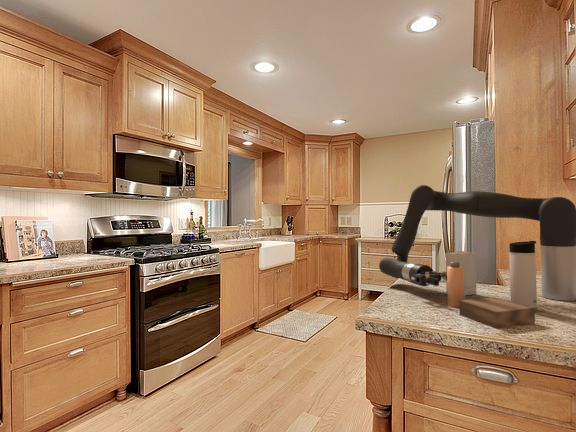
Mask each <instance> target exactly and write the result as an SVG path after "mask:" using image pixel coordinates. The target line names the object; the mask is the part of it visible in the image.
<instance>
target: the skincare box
mask: <svg viewBox="0 0 576 432" xmlns="http://www.w3.org/2000/svg"><path fill="white" fill-rule="evenodd" d="M450 262H460V267H463V268H464V297H465V296H466V297H467V296H470V295H471V296H472V295H476V294H477V272H476V271H477V270H476V268H477V267H476V266H477V265H476V262H477V261H476V252H472V251H463V250H461V251H454V252H445V272H447V266H450ZM445 284H446V285H447V282H446V283H445ZM446 293H447V294H448V290H447V289H446Z"/></svg>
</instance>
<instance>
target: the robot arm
mask: <svg viewBox="0 0 576 432" xmlns="http://www.w3.org/2000/svg"><path fill="white" fill-rule="evenodd" d="M426 211H441V212H442V211H444V212H445V211H446V212H451V213H453V212H454V213H457V214H463V215H470V216H475V217H485V218H498V219H499V218H502V219H504V218H507V219H513V218H517V219H528V220H533V221H538V222H539V244H540V245H539V249H540V252H539V253H540V277H541V278H540V279H541V280H540V281H541V297H543V298H546V299H551V300H557V301H567V302H569V301H570V302H571V301H572V302H573V301H576V204H574V202H573V201H572V200H570V199H568V198H566V197H562V196H555V197H554V196H553V197H549V198H548V197H546V198H545V197H544V198H538V197H537V198H534V197H520V196H515V195H512V194H511V195H510V194H505V193H501V192H492V191H482V190H481V191H480V190H478V191H475V190H474V191H462V192H455V193H453V192H444V191H438V190H434V189H433V188H432V187H430V186H429V185H426V184H422V185H417V186H416V187H415V188H414V189H413V190H412V191H411V194H410V198H409V201H408V206H407V209H406V212H405V216H404V219H403V221H402V224H401V226H400V228H399V231H398V233H397V235H396V237H395V239H394V242H393V244H392V246H391V251H392V253H394V254H396V257H397V259H396V258H394V257H393V258H392V257H390V256H387V257H384V258H382V259H381V260H380V262H379V264H378V268H379V270H380V272H381V273H382V274H383V275H387V276H389V277H391V278H395V279H400V280H403V281H407V282H409V283H411V284H415V285H417V286H421V287H428V286H429V285H431V286H433V287H434V286H435V287H439V286H440V283H441V284H446V282H447V272H446V271H442V272H441V271H437V270H433V268H432V267H431V266H430V265H427V264H421V263H417V262H410V261H409V262H408V259H409V253H410V251H411V250H412V247H413V245H414V243H415V241H416V238H417V237H416V236H417V234H418V233H417V232H418V229H419V225H420V222H421V220H422V218H423V215H424V214H425V212H426Z"/></svg>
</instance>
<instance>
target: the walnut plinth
mask: <svg viewBox="0 0 576 432" xmlns="http://www.w3.org/2000/svg"><path fill="white" fill-rule="evenodd" d="M535 312H536V311H535V310H534V308H533V307H530V306H526V305H522V304H518V303H514V302H511V300H507V299H503V298H499V297H495V296H492V297H490V296H489V297H482V298H472V299H471V298H470V299H464V300H460V301H459V316H462V317H464V318H468V319H470V320H473V321H475V322H478V323H481V324H484V325H486V326H489V327H492V328H495V329H504V328H511V327H519V325H520V326H526V325H525V324H527V325H533V323H535V324H536V316H535V315H536V314H535Z"/></svg>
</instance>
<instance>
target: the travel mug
mask: <svg viewBox="0 0 576 432" xmlns="http://www.w3.org/2000/svg"><path fill="white" fill-rule="evenodd" d="M536 244H537V241H536V240H529V241H516V242H511V243H509V247H508V248H509V253H508V254H509V283H510V284H509V287H510V289H509V290H510V301H511V302H514V303H518V304H522V305H526V306H530V307H533V308H534V310H535V312H536V311H537V310H538V299H537V295H538V294H537V293H538V292H537V263H536V258H537V257H536V250H535V249H536Z"/></svg>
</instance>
